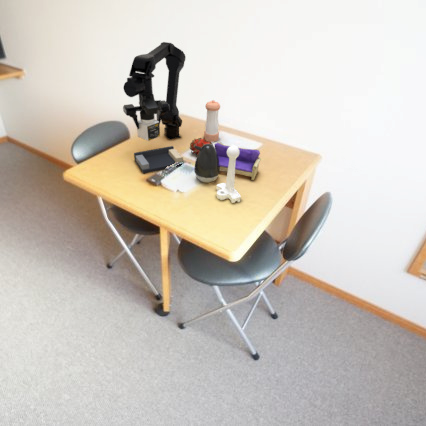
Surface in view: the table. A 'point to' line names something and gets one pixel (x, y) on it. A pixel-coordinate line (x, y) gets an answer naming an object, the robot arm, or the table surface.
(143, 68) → the robot arm
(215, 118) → the pepper shaker
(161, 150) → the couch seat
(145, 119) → the medicine bottle
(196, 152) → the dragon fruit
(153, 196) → the table surface
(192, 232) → the table surface
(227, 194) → the joystick
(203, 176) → the dark grey tapered dome
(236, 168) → the toy sofa
